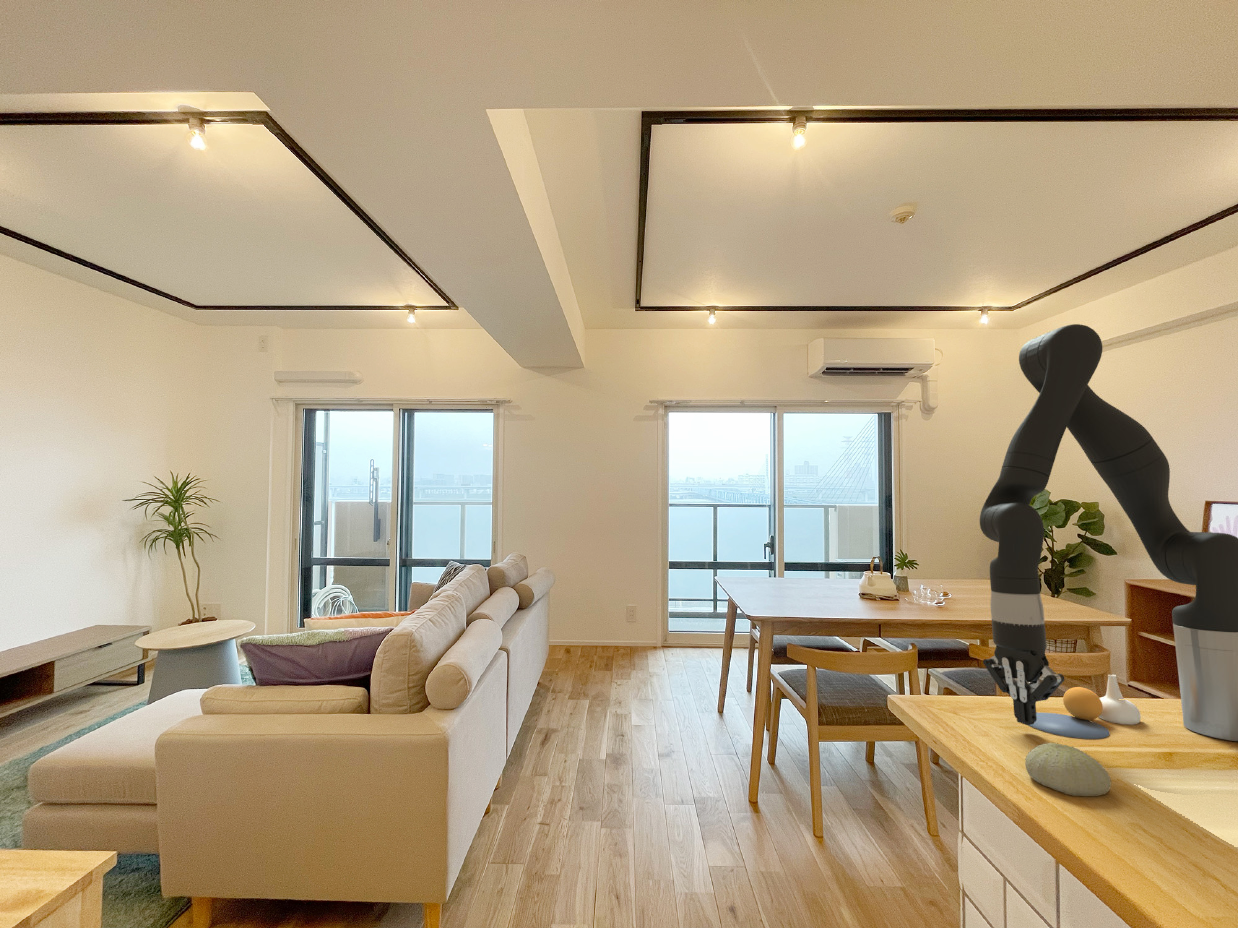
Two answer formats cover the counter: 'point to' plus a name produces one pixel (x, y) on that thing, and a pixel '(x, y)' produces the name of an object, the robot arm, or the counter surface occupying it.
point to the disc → (1069, 726)
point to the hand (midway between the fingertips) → (1025, 722)
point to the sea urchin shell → (1067, 770)
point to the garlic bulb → (1118, 706)
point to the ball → (1082, 703)
